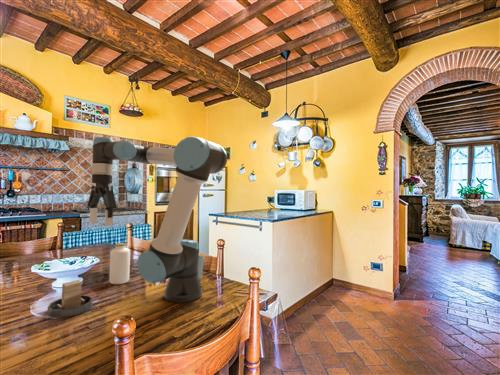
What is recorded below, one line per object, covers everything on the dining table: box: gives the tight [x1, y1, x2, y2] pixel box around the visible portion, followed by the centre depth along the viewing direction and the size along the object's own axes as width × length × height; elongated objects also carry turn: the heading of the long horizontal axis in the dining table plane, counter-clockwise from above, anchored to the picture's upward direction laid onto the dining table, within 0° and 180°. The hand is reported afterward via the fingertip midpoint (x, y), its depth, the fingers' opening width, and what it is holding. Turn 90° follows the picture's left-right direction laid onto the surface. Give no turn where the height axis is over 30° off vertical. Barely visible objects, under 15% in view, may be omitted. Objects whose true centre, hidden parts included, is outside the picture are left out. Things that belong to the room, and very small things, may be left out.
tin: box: [47, 294, 94, 318], centre depth 93 cm, size 13×13×2 cm
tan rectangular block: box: [61, 279, 82, 310], centre depth 93 cm, size 3×5×9 cm, turn 144°
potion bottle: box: [109, 242, 131, 285], centre depth 122 cm, size 8×8×18 cm
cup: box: [198, 255, 205, 280], centre depth 129 cm, size 8×8×10 cm
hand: (100, 224), depth 109 cm, fingers open, 13 cm apart
